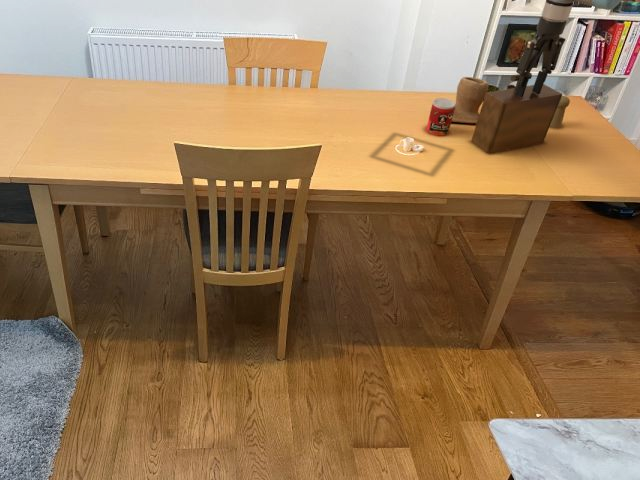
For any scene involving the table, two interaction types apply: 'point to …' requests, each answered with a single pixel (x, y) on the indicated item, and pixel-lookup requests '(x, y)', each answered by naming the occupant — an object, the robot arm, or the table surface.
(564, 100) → the cork
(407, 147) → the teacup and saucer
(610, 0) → the robot arm
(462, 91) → the tan brown vase
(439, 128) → the canned food
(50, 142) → the table surface
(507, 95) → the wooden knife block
